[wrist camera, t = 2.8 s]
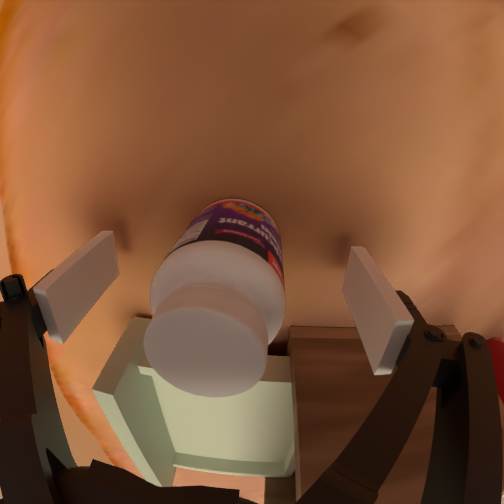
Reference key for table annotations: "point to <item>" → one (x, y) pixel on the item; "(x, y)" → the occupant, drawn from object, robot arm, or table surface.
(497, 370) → the coffee cup
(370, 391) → the housing
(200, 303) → the pill bottle
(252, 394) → the drawer
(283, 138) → the table surface
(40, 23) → the table surface
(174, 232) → the table surface
